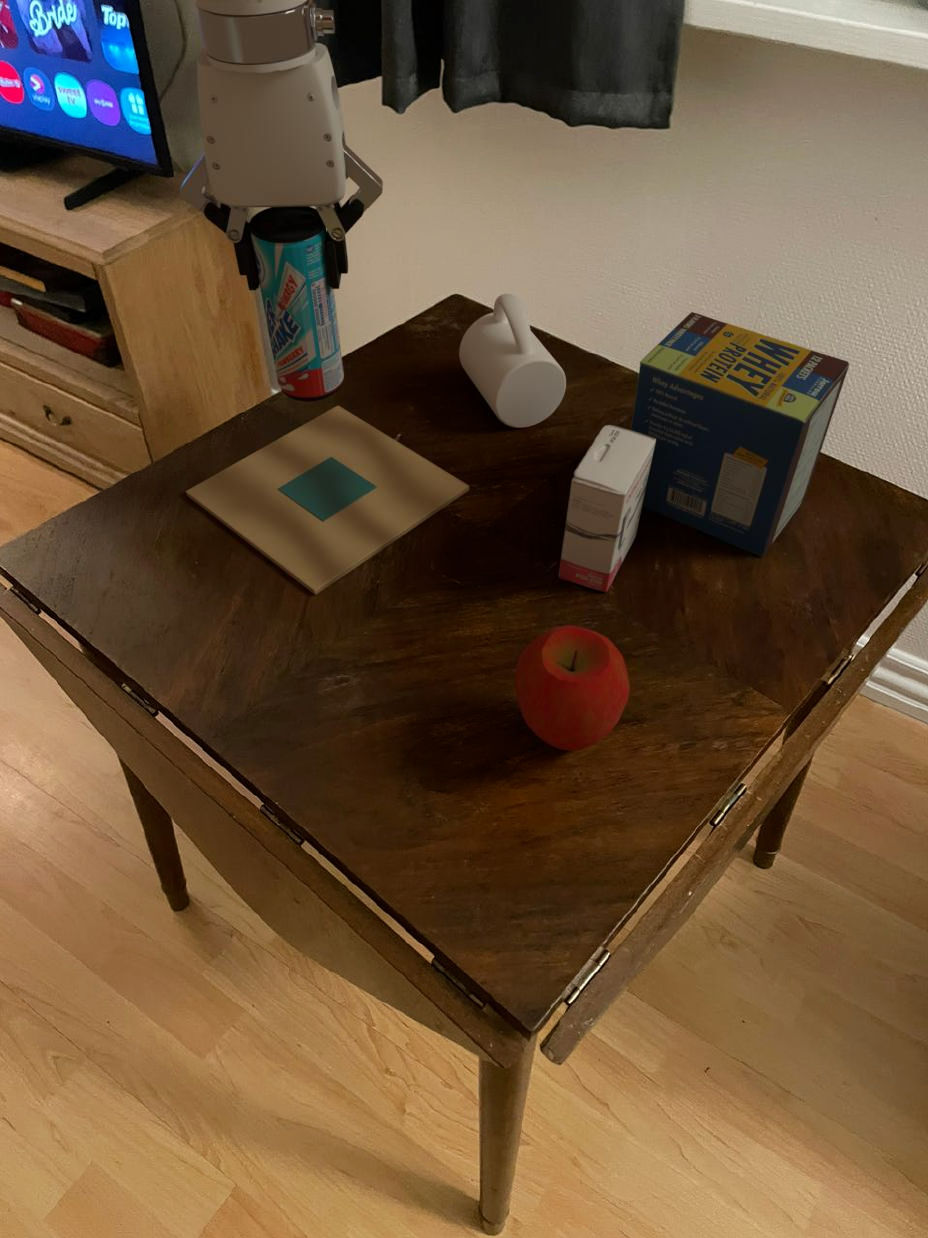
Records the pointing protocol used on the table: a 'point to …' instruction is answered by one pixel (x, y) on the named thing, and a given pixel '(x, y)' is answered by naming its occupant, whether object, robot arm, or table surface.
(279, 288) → the beverage can
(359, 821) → the table surface
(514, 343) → the mug
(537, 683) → the apple
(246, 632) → the table surface
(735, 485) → the protein box
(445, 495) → the cork mat
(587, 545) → the ink box
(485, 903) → the table surface
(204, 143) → the robot arm
